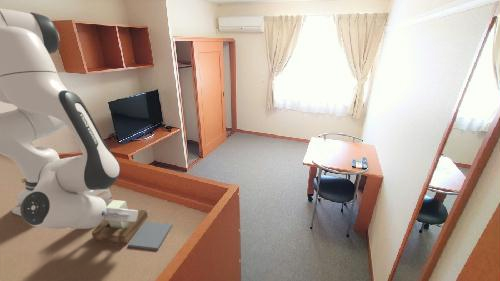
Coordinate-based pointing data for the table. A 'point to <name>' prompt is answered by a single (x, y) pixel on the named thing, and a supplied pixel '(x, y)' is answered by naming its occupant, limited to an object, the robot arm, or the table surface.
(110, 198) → the ink cartridge box
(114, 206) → the sage block
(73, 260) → the table surface
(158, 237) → the slate rubber pad
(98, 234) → the walnut puzzle board
